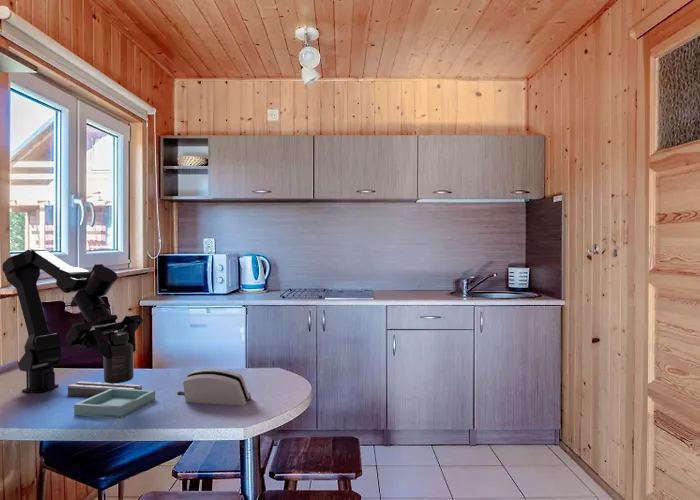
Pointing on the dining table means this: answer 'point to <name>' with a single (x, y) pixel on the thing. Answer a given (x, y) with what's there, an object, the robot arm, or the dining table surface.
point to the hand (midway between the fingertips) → (122, 354)
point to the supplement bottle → (119, 359)
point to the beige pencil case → (215, 387)
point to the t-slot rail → (97, 388)
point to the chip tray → (114, 403)
